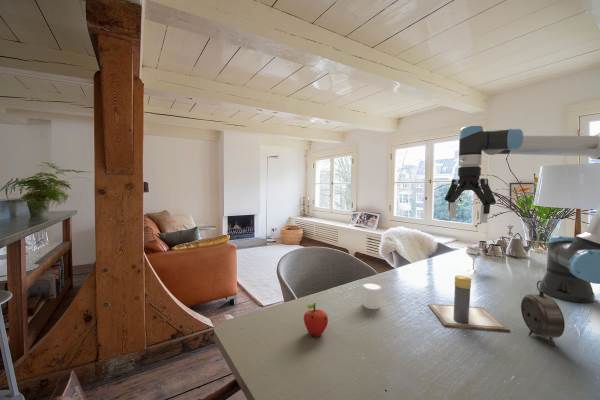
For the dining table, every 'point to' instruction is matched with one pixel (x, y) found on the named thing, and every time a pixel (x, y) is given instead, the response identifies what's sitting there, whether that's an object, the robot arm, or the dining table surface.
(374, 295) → the white cylinder
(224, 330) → the dining table surface
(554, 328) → the alarm clock
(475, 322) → the wooden picture frame
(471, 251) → the wineglass
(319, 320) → the apple
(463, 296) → the marker
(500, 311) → the dining table surface
